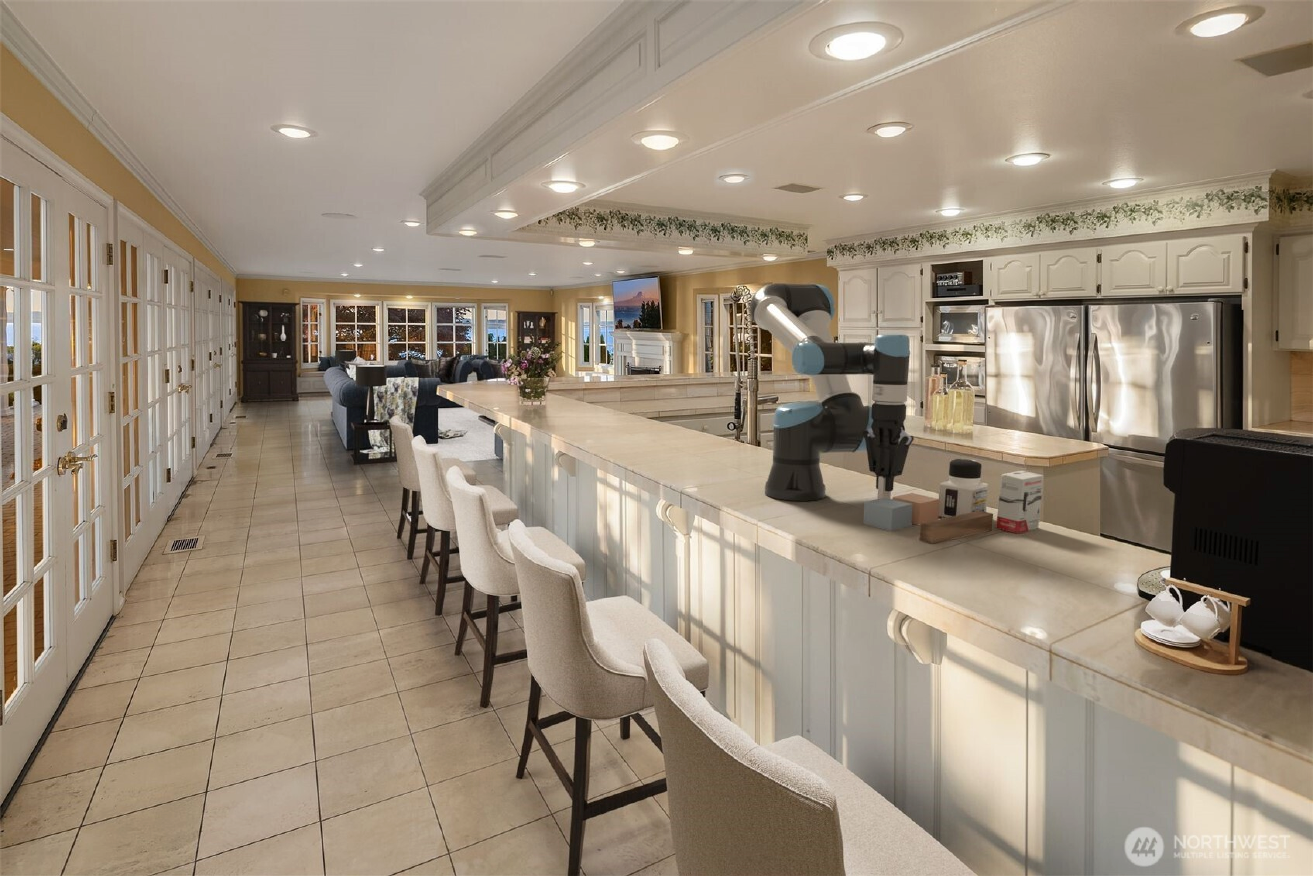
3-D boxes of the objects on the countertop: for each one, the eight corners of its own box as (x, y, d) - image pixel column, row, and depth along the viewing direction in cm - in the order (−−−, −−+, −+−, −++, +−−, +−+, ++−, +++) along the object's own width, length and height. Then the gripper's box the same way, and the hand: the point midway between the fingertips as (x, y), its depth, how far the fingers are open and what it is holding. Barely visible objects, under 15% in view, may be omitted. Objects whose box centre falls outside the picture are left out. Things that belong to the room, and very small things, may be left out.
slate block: (863, 524, 153) (864, 501, 152) (883, 519, 157) (884, 497, 156) (890, 531, 147) (892, 508, 146) (911, 526, 151) (912, 504, 150)
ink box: (1017, 534, 146) (1022, 478, 144) (995, 528, 150) (999, 474, 148) (1039, 528, 150) (1045, 473, 148) (1017, 522, 154) (1022, 469, 153)
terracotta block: (891, 518, 157) (892, 496, 157) (910, 514, 161) (912, 493, 161) (918, 525, 152) (920, 503, 151) (937, 521, 156) (939, 499, 155)
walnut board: (919, 539, 141) (920, 522, 140) (978, 526, 151) (980, 510, 150) (932, 543, 138) (933, 526, 138) (991, 529, 148) (993, 513, 148)
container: (970, 523, 154) (975, 464, 152) (936, 516, 159) (940, 459, 157) (986, 517, 159) (990, 460, 157) (952, 510, 164) (957, 455, 162)
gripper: (855, 401, 164) (850, 500, 167) (901, 406, 153) (895, 512, 156) (877, 399, 168) (872, 496, 171) (924, 404, 157) (917, 507, 160)
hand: (883, 503), depth 164 cm, fingers closed
